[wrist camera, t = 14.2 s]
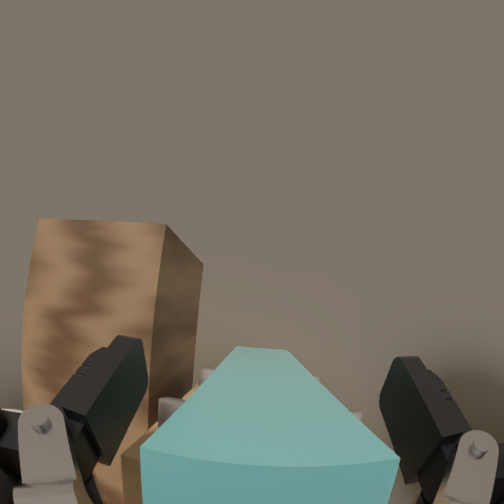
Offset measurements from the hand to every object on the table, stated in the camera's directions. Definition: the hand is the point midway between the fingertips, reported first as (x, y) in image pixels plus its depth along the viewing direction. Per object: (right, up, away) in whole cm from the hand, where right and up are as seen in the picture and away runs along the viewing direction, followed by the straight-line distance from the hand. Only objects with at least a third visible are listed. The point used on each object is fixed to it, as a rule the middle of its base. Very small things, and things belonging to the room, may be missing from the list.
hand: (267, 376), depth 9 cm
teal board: (0, -4, +4) cm, 6 cm away
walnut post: (-13, -27, +7) cm, 30 cm away
